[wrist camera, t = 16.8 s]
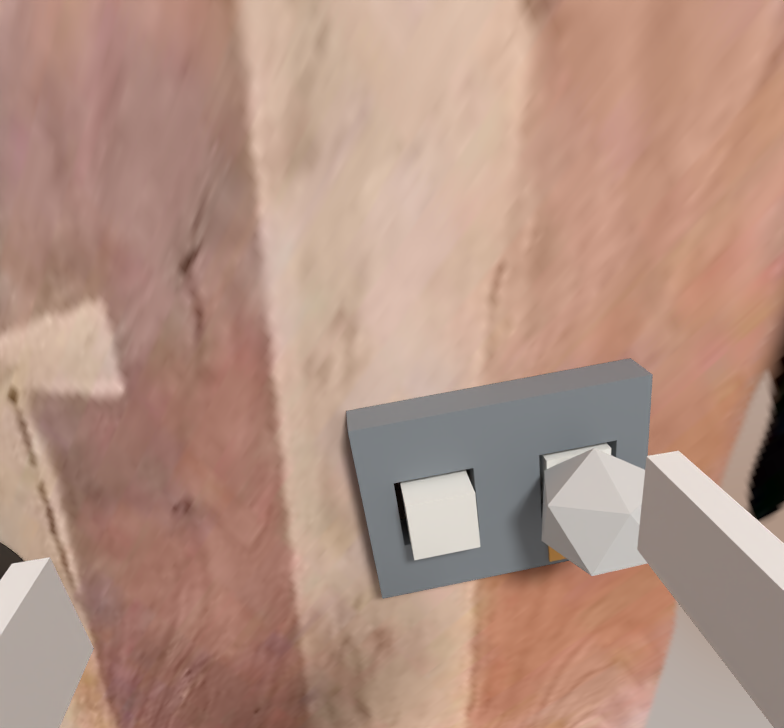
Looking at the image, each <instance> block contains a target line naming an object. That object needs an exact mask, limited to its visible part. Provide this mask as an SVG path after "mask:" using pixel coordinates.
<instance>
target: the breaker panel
mask: <svg viewBox="0 0 784 728" xmlns="http://www.w3.org/2000/svg"><path fill="white" fill-rule="evenodd" d="M652 376H653V375H652V374H651V373H650V372H648V371H647V370H646V369H644V368H643V367H642V366H640V365H639V364H637V363H636V362H635V361H633V360H632V359H631V358H630V359H624V360H619V361H614V362H608V363H603V364H597V365H592V366H587V367H581V368H576V369H571V370H565V371H560V372H554V373H549V374H544V375H538V376H533V377H527V378H522V379H517V380H511V381H506V382H500V383H495V384H490V385H484V386H479V387H473V388H468V389H463V390H457V391H452V392H446V393H441V394H436V395H430V396H425V397H419V398H414V399H409V400H403V401H398V402H392V403H387V404H382V405H376V406H371V407H365V408H360V409H355V410H349V411H346V415H347V427H348V435H349V439H350V444H351V449H352V454H353V459H354V463H355V468H356V473H357V478H358V483H359V488H360V492H361V497H362V502H363V507H364V512H365V516H366V521H367V526H368V531H369V536H370V541H371V545H372V550H373V555H374V560H375V565H376V569H377V574H378V579H379V584H380V589H381V594H382V598H388V597H393V596H398V595H403V594H408V593H413V592H417V591H422V590H427V589H432V588H437V587H442V586H447V585H452V584H457V583H462V582H467V581H471V580H476V579H481V578H486V577H491V576H496V575H501V574H506V573H511V572H516V571H520V570H525V569H530V568H535V567H540V566H545V565H550V564H555V563H560V562H565V561H569V560H568V559H567V558H565V557H564V556H563V555H561V554H560V553H558V552H557V551H555V550H554V549H553V548H551V547H550V546H548V545H547V544H545V543H544V542H543V541H542V516H543V504H542V502H541V493H540V466H539V455H543V454H548V453H553V452H559V451H564V450H569V449H574V448H579V447H585V446H590V445H595V444H600V443H605V442H606V443H607V444H608V445H609V446H610V447H611V455H612V456H614V457H616V458H619V459H621V460H623V461H626V462H628V463H630V464H632V465H635V466H637V467H639V468H642V469H644V470H645V467H646V457H647V454H648V439H649V423H650V407H651V391H652ZM465 469H466V472H467V475H468V477H469V480H470V482H471V484H472V487H473V489H474V491H475V496H476V506H477V517H478V527H479V537H480V547H478V548H473V549H468V550H463V551H458V552H453V553H448V554H443V555H439V556H434V557H429V558H424V559H419V560H414V556H413V551H412V547H411V542H410V537H409V533H408V527H407V521H406V519H404V520H400V517H399V511H398V506H397V500H396V494H395V488H394V483H398V482H403V481H408V480H414V479H419V478H424V477H429V476H434V475H440V474H445V473H450V472H455V471H460V470H465Z"/></svg>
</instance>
